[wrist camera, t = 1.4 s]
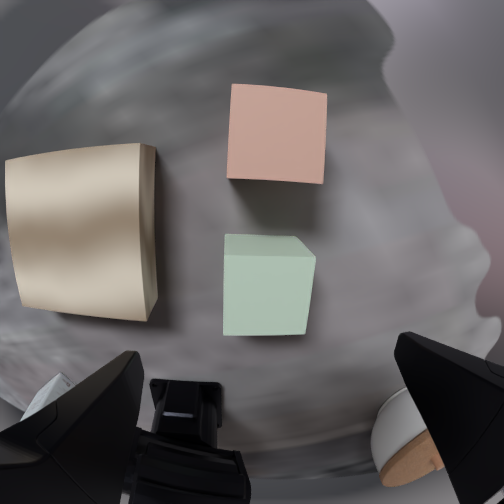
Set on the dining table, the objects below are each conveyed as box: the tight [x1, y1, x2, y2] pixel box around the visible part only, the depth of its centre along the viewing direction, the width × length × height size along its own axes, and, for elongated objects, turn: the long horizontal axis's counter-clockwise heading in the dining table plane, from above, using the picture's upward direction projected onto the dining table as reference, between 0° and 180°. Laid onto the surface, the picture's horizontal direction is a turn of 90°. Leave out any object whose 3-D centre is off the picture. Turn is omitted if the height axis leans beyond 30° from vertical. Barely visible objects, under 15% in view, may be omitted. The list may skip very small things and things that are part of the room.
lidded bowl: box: [371, 387, 444, 487], centre depth 22 cm, size 13×13×11 cm
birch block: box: [5, 143, 158, 321], centre depth 17 cm, size 11×11×4 cm
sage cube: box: [223, 234, 316, 336], centre depth 18 cm, size 5×5×5 cm
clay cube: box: [227, 84, 327, 184], centre depth 16 cm, size 5×5×5 cm
